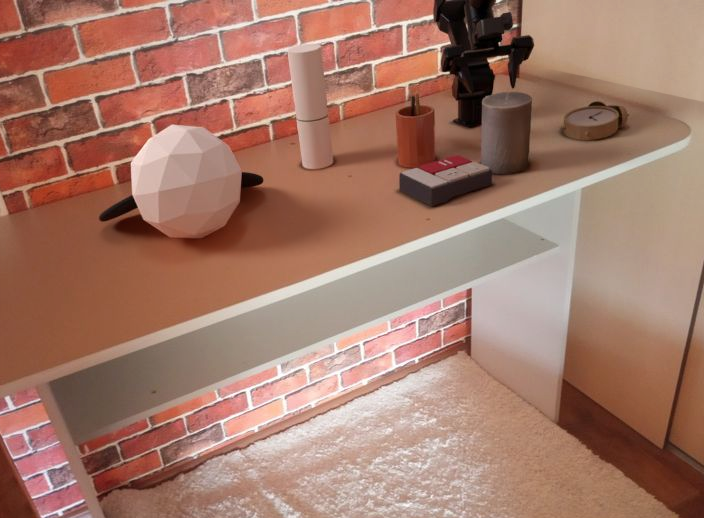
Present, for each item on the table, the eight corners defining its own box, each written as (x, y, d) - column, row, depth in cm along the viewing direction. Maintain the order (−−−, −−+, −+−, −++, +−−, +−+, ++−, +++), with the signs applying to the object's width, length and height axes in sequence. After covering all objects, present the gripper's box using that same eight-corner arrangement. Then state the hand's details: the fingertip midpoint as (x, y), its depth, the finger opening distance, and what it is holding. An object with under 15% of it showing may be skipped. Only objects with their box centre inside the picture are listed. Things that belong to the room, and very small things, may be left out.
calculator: (493, 166, 138) (432, 185, 133) (492, 187, 141) (431, 206, 135) (458, 152, 146) (398, 169, 141) (457, 172, 149) (398, 190, 144)
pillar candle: (534, 159, 148) (539, 86, 139) (519, 177, 142) (523, 101, 133) (489, 154, 153) (491, 84, 144) (473, 172, 146) (474, 99, 138)
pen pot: (391, 161, 157) (388, 111, 151) (420, 151, 160) (418, 102, 153) (413, 171, 151) (410, 119, 145) (442, 160, 154) (441, 109, 147)
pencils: (406, 156, 155) (403, 91, 147) (418, 152, 157) (416, 88, 148) (414, 159, 153) (412, 94, 145) (426, 155, 154) (424, 90, 146)
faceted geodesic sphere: (112, 267, 123) (75, 142, 117) (108, 250, 151) (78, 147, 144) (300, 221, 131) (275, 100, 124) (263, 212, 158) (241, 113, 152)
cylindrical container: (334, 155, 164) (322, 42, 150) (332, 167, 158) (319, 50, 144) (304, 158, 165) (289, 45, 151) (300, 170, 159) (285, 54, 145)
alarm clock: (551, 120, 157) (599, 90, 161) (552, 140, 160) (599, 111, 164) (593, 131, 149) (641, 99, 152) (593, 152, 152) (641, 121, 156)
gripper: (442, 6, 143) (454, 76, 141) (534, -8, 143) (548, 63, 140) (435, 38, 154) (446, 104, 152) (520, 25, 154) (533, 91, 151)
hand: (492, 90), depth 149 cm, fingers open, 8 cm apart
